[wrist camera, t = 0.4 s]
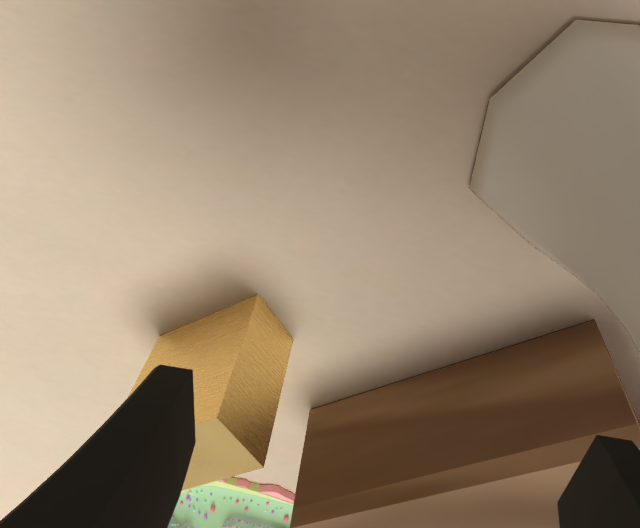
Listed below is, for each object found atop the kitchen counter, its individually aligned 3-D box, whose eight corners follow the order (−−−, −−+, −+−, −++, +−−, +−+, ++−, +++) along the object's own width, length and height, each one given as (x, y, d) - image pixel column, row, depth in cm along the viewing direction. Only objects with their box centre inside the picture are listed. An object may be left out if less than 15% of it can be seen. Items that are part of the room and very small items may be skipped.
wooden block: (293, 338, 23) (263, 467, 18) (196, 375, 25) (145, 501, 20) (258, 294, 22) (216, 418, 17) (159, 335, 24) (96, 458, 19)
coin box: (675, 506, 26) (731, 641, 22) (428, 553, 31) (431, 672, 26) (594, 319, 21) (645, 446, 16) (309, 409, 25) (289, 528, 21)
